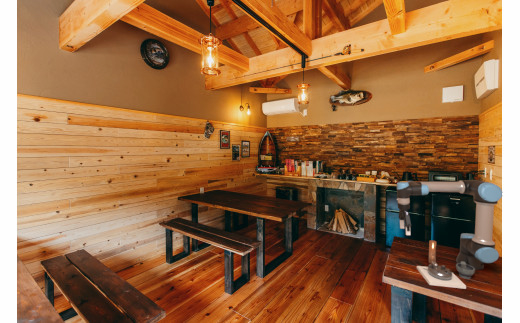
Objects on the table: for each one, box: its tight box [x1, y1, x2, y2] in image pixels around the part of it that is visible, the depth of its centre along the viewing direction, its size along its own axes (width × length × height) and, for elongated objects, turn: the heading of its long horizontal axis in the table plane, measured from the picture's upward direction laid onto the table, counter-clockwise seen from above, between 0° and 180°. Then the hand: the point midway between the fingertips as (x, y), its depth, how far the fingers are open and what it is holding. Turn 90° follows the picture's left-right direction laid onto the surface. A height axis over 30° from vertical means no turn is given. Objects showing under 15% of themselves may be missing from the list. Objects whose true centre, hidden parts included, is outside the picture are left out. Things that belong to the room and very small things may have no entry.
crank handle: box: [427, 240, 453, 281], centre depth 160 cm, size 20×13×19 cm, turn 166°
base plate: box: [416, 265, 467, 290], centre depth 157 cm, size 20×20×2 cm
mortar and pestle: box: [455, 261, 476, 280], centre depth 158 cm, size 11×9×12 cm
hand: (405, 231), depth 171 cm, fingers open, 13 cm apart
